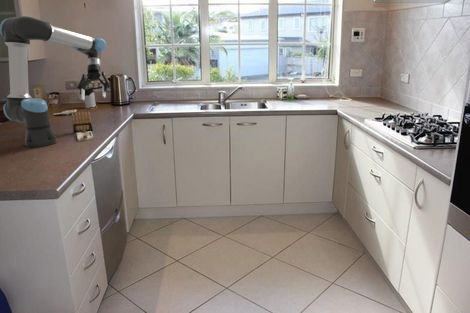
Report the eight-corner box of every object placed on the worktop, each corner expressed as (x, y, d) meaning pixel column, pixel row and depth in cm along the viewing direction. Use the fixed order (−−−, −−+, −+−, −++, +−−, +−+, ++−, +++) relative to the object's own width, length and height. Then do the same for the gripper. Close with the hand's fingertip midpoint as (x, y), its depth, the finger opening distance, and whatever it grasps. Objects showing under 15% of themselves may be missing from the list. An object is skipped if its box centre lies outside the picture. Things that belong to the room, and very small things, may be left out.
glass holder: (92, 108, 310) (90, 90, 306) (77, 108, 314) (74, 90, 309) (98, 106, 319) (96, 88, 314) (83, 106, 322) (81, 88, 318)
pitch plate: (78, 141, 207) (77, 137, 206) (76, 134, 222) (76, 131, 221) (93, 139, 210) (93, 135, 209) (91, 133, 225) (90, 129, 224)
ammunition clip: (92, 130, 232) (90, 110, 228) (92, 131, 230) (90, 111, 227) (73, 132, 229) (70, 112, 225) (73, 132, 227) (70, 112, 223)
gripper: (115, 66, 242) (115, 97, 236) (78, 72, 244) (77, 102, 239) (110, 60, 234) (110, 92, 229) (71, 66, 237) (70, 98, 232)
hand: (93, 98), depth 234 cm, fingers open, 13 cm apart
